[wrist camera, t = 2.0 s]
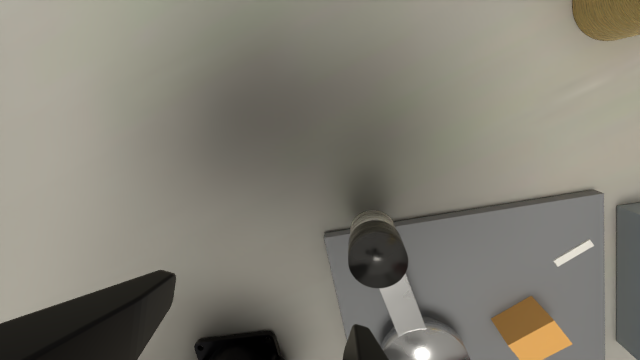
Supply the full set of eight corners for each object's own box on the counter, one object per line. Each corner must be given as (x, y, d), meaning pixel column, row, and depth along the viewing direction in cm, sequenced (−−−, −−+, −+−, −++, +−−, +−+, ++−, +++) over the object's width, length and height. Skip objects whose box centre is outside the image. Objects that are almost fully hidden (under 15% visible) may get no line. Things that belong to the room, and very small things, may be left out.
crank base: (365, 414, 25) (367, 458, 22) (324, 233, 22) (320, 255, 19) (596, 396, 23) (635, 443, 20) (593, 189, 19) (640, 206, 16)
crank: (475, 377, 21) (509, 451, 17) (395, 396, 22) (407, 470, 18) (408, 188, 18) (427, 216, 14) (320, 219, 19) (312, 254, 15)
